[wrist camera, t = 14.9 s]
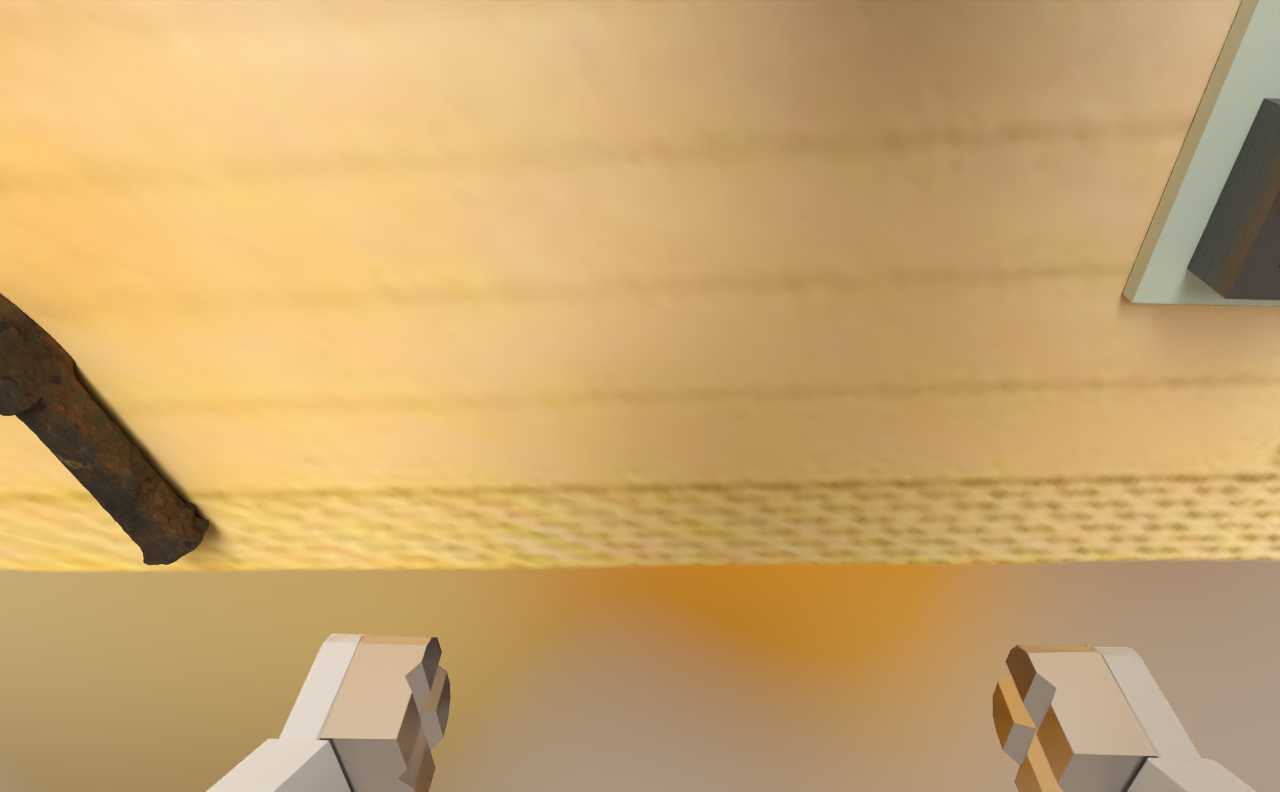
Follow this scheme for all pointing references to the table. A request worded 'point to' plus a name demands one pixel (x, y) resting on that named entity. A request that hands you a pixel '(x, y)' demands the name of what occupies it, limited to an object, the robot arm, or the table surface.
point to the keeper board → (1209, 161)
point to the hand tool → (90, 441)
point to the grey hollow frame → (1246, 218)
